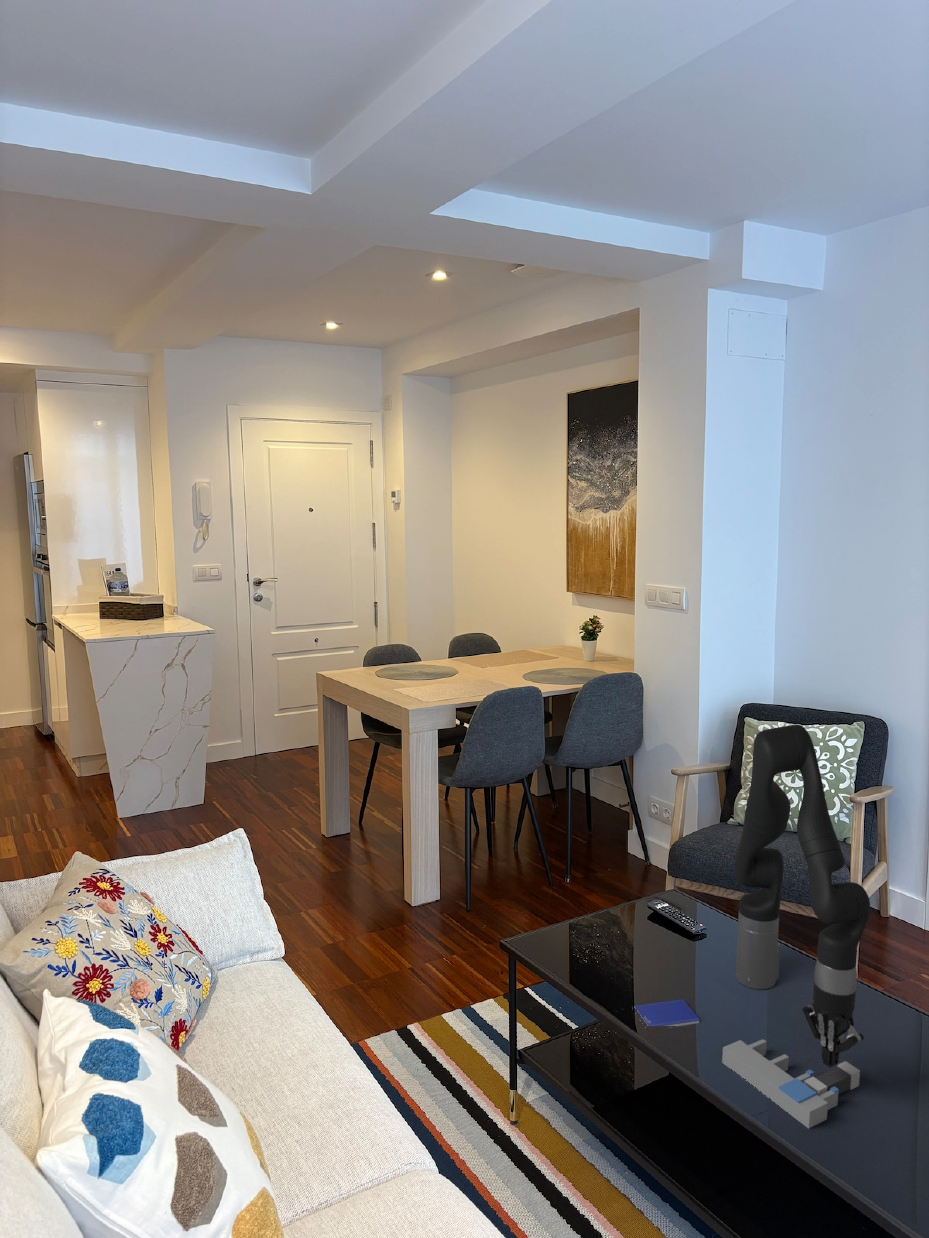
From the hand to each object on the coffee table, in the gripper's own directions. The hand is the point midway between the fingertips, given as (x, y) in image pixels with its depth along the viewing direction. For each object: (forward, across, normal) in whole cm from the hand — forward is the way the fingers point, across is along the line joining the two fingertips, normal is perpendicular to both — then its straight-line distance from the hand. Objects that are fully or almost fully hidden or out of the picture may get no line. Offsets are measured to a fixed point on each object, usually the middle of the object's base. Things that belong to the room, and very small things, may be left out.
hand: (829, 1063), depth 177 cm
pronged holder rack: (+6, +6, +6) cm, 10 cm away
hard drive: (+7, +35, +10) cm, 37 cm away
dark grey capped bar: (+6, 0, -1) cm, 6 cm away
